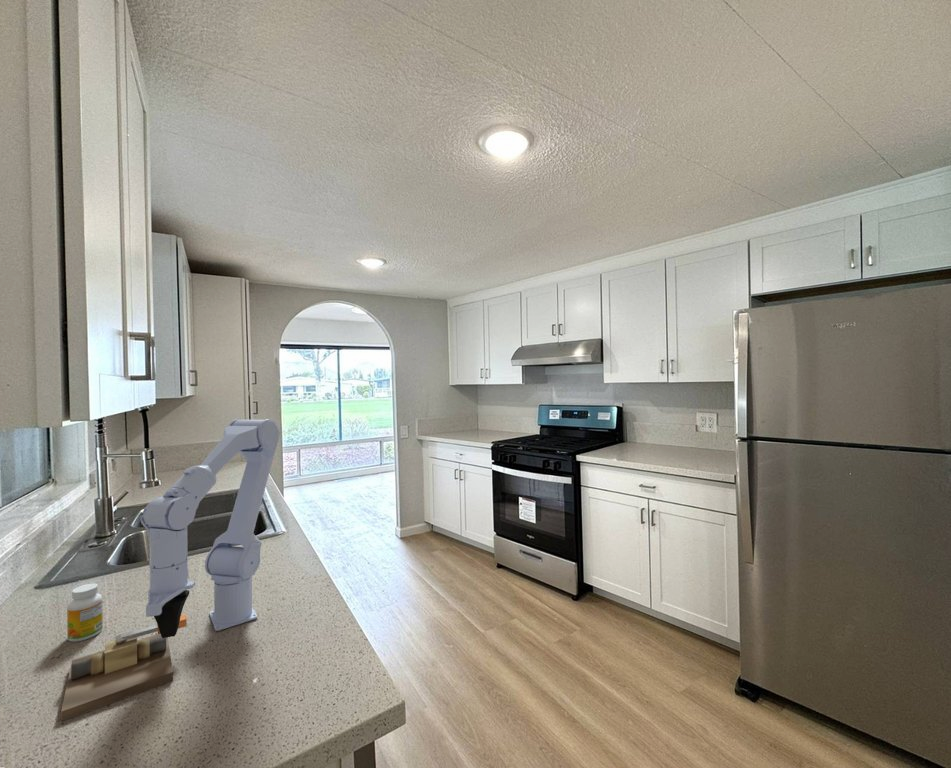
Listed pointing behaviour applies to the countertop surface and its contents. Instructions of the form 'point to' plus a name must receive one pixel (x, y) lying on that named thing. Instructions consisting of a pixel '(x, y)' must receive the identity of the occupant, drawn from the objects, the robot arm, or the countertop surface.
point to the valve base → (116, 674)
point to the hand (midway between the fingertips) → (169, 635)
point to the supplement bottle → (84, 613)
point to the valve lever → (146, 631)
